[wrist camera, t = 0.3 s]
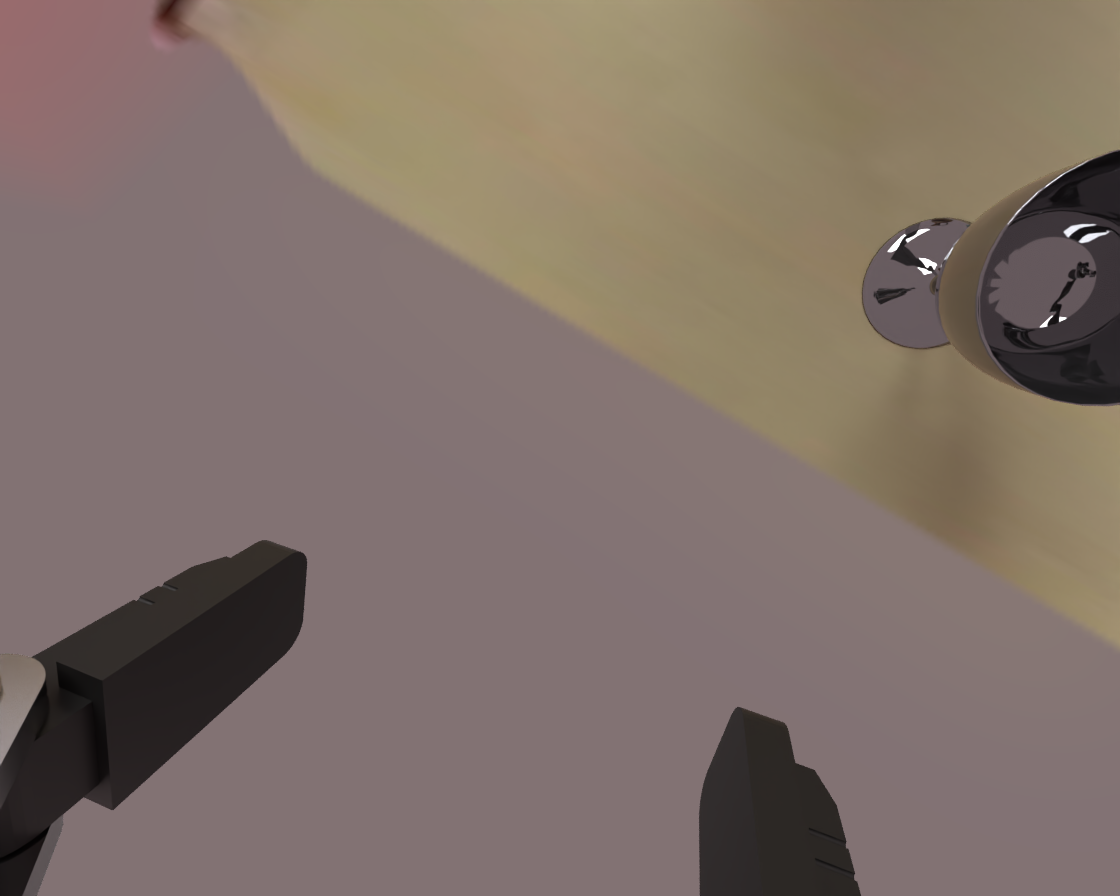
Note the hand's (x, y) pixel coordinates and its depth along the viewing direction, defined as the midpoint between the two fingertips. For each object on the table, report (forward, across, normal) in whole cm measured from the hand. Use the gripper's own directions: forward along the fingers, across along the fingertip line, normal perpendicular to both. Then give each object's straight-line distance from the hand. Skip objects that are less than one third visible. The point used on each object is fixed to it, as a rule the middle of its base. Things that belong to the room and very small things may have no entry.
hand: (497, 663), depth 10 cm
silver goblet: (+29, -14, -10) cm, 34 cm away
